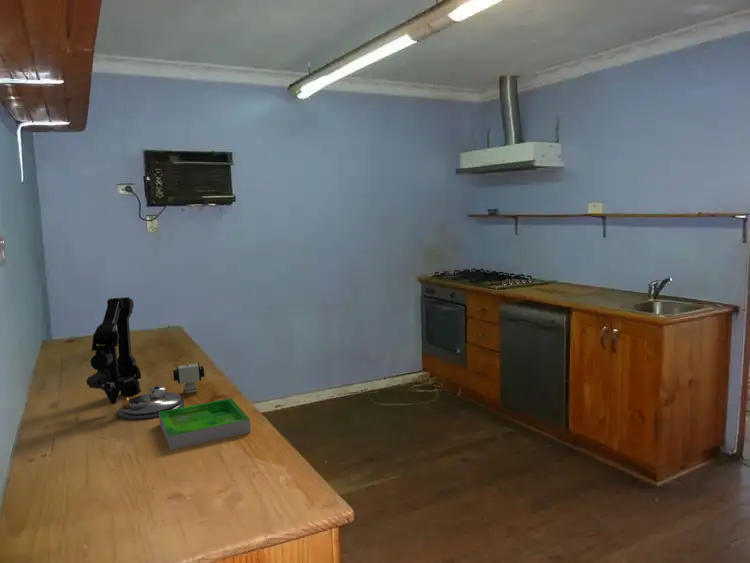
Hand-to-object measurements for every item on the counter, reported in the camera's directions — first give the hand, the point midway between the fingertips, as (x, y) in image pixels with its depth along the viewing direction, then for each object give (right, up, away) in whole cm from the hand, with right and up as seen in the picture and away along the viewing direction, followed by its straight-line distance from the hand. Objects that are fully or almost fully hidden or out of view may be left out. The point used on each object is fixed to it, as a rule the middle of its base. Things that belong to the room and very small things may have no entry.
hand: (113, 403), depth 209 cm
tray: (+39, -5, -18) cm, 43 cm away
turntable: (+13, -1, +4) cm, 13 cm away
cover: (+13, +1, +9) cm, 16 cm away
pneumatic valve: (+21, 0, +22) cm, 31 cm away
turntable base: (+13, -2, +4) cm, 14 cm away
